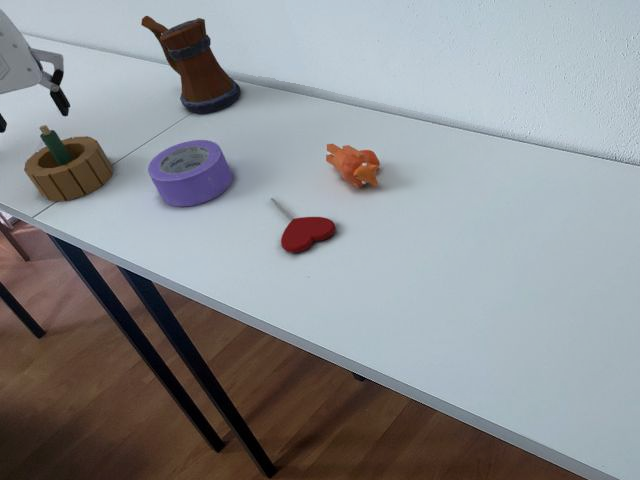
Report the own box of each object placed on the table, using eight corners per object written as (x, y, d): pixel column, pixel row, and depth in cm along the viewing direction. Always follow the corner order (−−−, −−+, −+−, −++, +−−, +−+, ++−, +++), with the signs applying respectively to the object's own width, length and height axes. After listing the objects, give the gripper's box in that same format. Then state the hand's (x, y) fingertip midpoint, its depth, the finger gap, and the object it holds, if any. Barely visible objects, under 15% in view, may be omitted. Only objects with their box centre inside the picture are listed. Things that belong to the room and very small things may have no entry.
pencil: (71, 186, 110) (34, 132, 103) (72, 179, 112) (35, 125, 104) (85, 182, 111) (49, 127, 103) (86, 175, 112) (51, 121, 105)
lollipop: (249, 213, 97) (291, 258, 89) (246, 208, 97) (289, 252, 88) (295, 190, 100) (341, 231, 91) (294, 185, 99) (339, 226, 91)
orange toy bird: (314, 138, 99) (358, 164, 92) (354, 132, 103) (399, 157, 97) (314, 170, 102) (357, 197, 95) (354, 163, 106) (397, 188, 100)
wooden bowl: (39, 209, 106) (20, 183, 103) (45, 174, 114) (28, 149, 111) (112, 187, 108) (96, 161, 104) (113, 154, 116) (98, 129, 112)
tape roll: (246, 180, 104) (234, 153, 101) (183, 216, 99) (168, 188, 96) (210, 158, 111) (198, 132, 107) (150, 191, 106) (134, 164, 102)
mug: (154, 101, 129) (115, 24, 118) (199, 76, 135) (166, 1, 124) (207, 120, 121) (170, 39, 110) (253, 92, 126) (222, 13, 115)
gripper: (-110, 32, 86) (-25, 146, 99) (24, 2, 89) (90, 116, 102) (-97, 14, 91) (-18, 124, 104) (29, -14, 94) (91, 97, 107)
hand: (35, 120), depth 103 cm, fingers open, 9 cm apart
